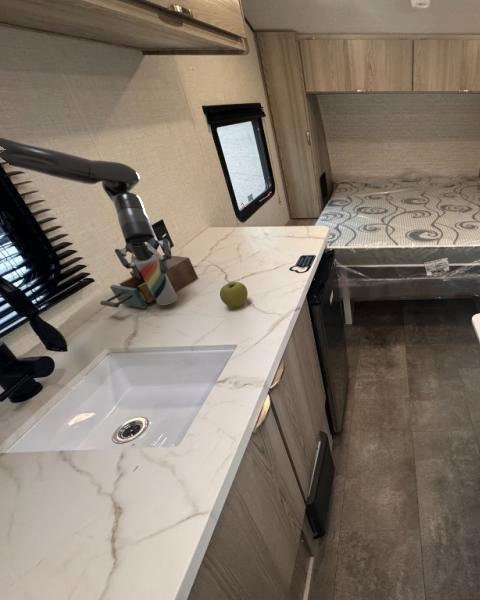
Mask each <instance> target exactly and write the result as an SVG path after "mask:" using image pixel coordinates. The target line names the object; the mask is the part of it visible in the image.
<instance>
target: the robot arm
mask: <svg viewBox="0 0 480 600" xmlns="http://www.w3.org/2000/svg"><path fill="white" fill-rule="evenodd" d="M0 146H1V147H3V148H4V149H6V150H5V151H4V152H1V153H0V157H1V158H2V159H3V160H5V161H6V162H8V163H9V165H8V166H10V165H11V167H15V168H18V169H19V168H20V169H24V170H27V171H32V172H35V173H40V174H43V175H47V176H51V177H55V178H59V179H62V180H67V181H71V182H74V183H75V182H76V183H79V184H84V185H91V186H92V185H96V184H99V183H101V186H102V189H103V190H104V193H105V194H106V195H107V196H108V198H109V199H110V201H111V202H112V203H113V205H114V209H115V211H116V214H117V219H118V223H119V227H120V230H121V234H122V236H123V238H124V241H125V245H124V247H123V248H115V249H114V254H116V256H117V258H118V260H119V262H120V263H121V265H122V266H123V267H124V268H125V269H127V270H130V269H131V271H133V273H134V276H135V277H136V278H138V279H140V280H141V279H143V277H142V275H141V273H140V272H139V270H138V268H137V266H136V265H135V260H137V258H136V257H135V255H134V253H133V251H132V250H131V245H132V244H136V243H145V244H146V245H147V247H148V249H149V251H150V253H151V255H155V256H156V257H157V258H158V259H159V260H160V261H159V263H160V266H161V269H162V272H163V273H164V274H166V273H167V271H168V267H167V264H166V261H167V260H168V259H171V258H172V256H173V255H172V249H171V243H170V241H169V240H168V239H167V238H163V239H162V240H161V239H160V240H158V239H157V238H156V235H155V232H154V229H153V227H152V223H151V221H150V220H151V219H150V217H149V216H148V214H147V212H146V210H145V206H144V204H143V201H142V199H141V197H140V196H139V195H137V194H136V193H133V192H131V191H132V190H133V189H134V188H135V187H136V186H137V185H138V184H139V182H140V175H139V173H138V172H137V171H136V170H135V169H134V168H133V167H131V166H129V165H127V164H125V163H122V162H117V161H108V160H98V159H97V160H96V159H95V160H94V159H89V158H85V157H81V156H77V155H74V154H70V153H67V152H62V151H59V150H54V149H49V148H45V147H41V146H35V145H31V144H26V143H22V142H18V141H14V140H11V139H8V138H4V137H1V138H0ZM160 246H161V247H162V248H163V253H164V254H163V255H162V254H161V253H159V252H158V251H157V250H158V249H159V247H160ZM128 253H130V254H131V256H130V258H131V260H130V262H129V261H128V259H127V257H126V256H127V255H128Z"/></svg>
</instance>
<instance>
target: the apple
mask: <svg viewBox="0 0 480 600" xmlns="http://www.w3.org/2000/svg"><path fill="white" fill-rule="evenodd" d="M248 294H249V293H248V288H247V286H246V285H245V284H244V283H242V282H240V281H230V282H228V283H225V284H224V285H223V286H222V287H221V288H220V290H219V298H220V300H221V301H222V303H223V304H224V305H226V306H227V307H229V308H239V307H241V306H243V305H244V304H245V303H246V302H247V300H248V296H249V295H248Z"/></svg>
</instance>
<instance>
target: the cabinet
mask: <svg viewBox="0 0 480 600" xmlns="http://www.w3.org/2000/svg"><path fill="white" fill-rule="evenodd" d="M158 260H159V259H158ZM159 261H160V260H159ZM166 264H167V267H168V271H167V273H166V276H167V277H168V279H169V281H170V283H171V285H172V287H173V289H174V291H175V293H176V294H177V292H179V291H181V290H183V289H184V288H185V287H187V286H188V285H190V284H192V283H193V282H195V281H196V280H198V279H199V276H198V274H197V272H196V270H195V268H194V265H193V264H192V261H191V259H190V257H186V256H178V255H172V258H171V259H168V260H167V261H166ZM129 274H130V277H132V276H134V273H133V270H131V271H129Z"/></svg>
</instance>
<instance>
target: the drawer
mask: <svg viewBox="0 0 480 600" xmlns="http://www.w3.org/2000/svg"><path fill="white" fill-rule="evenodd" d="M118 284H119V285H117V284H111V285H110V286H109V288H110V290H111V291H112V293H113V294H114V295H113V296H111V297H110V298H108V299H106V300H101V301H100V305H102V306H105V307H110V308H119V307H120V305H124V306H128V307H129V306H130V307H135V308H140V309H146V308H147V307H148V305H147V304H150V303H151V302H153V301H156V300H155V298H154V296H153V294H152V293H151V291H150V289H149V287H148V286H147V284H146V282H145V280H144V279H141V280H140V279H138V278H136V277H135V276H130V277H128V278H127V279H125V280H123V281H121V282H119V283H118ZM115 299H117V300H118V302H115V301H114V302H113V300H115Z"/></svg>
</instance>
